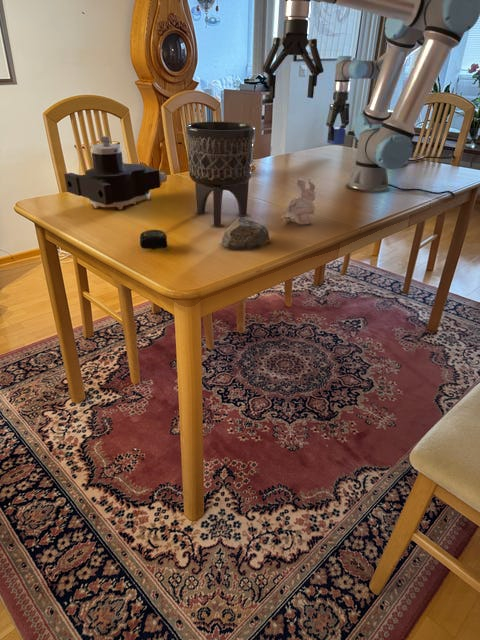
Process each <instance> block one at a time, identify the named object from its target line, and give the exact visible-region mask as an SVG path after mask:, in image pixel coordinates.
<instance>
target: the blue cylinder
mask: <svg viewBox="0 0 480 640" xmlns="http://www.w3.org/2000/svg"><path fill="white" fill-rule="evenodd" d="M333 127H334V135H333V141H331V140H328V138H327V141H326V143H327V144H328V145H329V144H330V145H344V144H345V143H346V132H347V127H346V128H342V127H338V126H333ZM328 130H329V128H328ZM328 130H327V131H328ZM328 134H329V133H328V132H327V135H328Z"/></svg>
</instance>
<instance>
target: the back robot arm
mask: <svg viewBox="0 0 480 640" xmlns="http://www.w3.org/2000/svg"><path fill="white" fill-rule="evenodd" d="M423 32H424V31H421V30H418V29H415V28H412V27H409V26H405V25H404V22H403V21H400V20H396V19H392V18H388V17H386V20H385V24H384V34H385V37H386V43H387V48H386V52H385V53H383V54H382V55H381V56H380V57H378V58H377V59H376V60H361V59H356V60H353V59H354V58H353V56H352V55H339V56H337V58H336V63H335V73H334V86H333V91H334V92H333V94H332V100H333V103H330V104H329V109H328V114H327V117H326V118H327V119H326V123H325V125H326V127H328V129H329V130H327V139H328V140H331V141H333V135H334V127H335V126H334V125H335V122H336V121H337V118H338V116H340V123H341V125H340V127H342V128H346V129H347V126H348V125H349V124H350V105H351V104H350V103H349V102H348V103H347V101H348V100H349V96H350V95H349V94H350V93H349V91H350V86H351V85H350V84H351V79H353V80H359V79H363V80H364V79H365V80H367V79H372V80H376V82H375V85H374V88H373V91H372V94H371V97H370V101H369V103H368V104H367V105H366V106H364V108H363V111H362V113H359V114H357V115H356V116H355V117H354V120H353V134H354V136H355V138H356V139H357V141H359V134H360V131H361V127H362V126H363V125H382V123H383V121H385V120H387V119H389V118H390V117H391V114H392V112H393V110H390V109H389V107H390V105H391V101H392V100H393V97H394V93H395V91H396V88H397V85H398V83H399V80H400V78H401V75H402V72H403V69H404V67H405V63H406V61H407V58H408V57H410V56H411V55H412V54H413V53H415V52H416V51H418V50H419V49H421V48H422V46H423V44H424V41H425V38H424V34H423ZM328 133H329V134H328ZM449 158H453V159H455V158H456V156H455V155H454V154H449V155H448V156H433V155H426V156H421V157H420V158H413V159H409V160H408V161H407V162H406V163H405V164H404V165H403V166H402V167H404V166H406V165H407V163H408V162H417V161H422V160H423V159H439V160H447V159H449Z"/></svg>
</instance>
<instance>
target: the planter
mask: <svg viewBox="0 0 480 640" xmlns="http://www.w3.org/2000/svg"><path fill="white" fill-rule="evenodd" d="M255 132H256V127H255V126H254V125H253V124H251V123H244V122H236V121H197V122H191V123H187V124H186V125H185V137H186V139H185V141H186V151H187V164H188V176H189V177H190V180H191V181H192V182H194V183H195V185H194V186H195V200H196V213H197V214H201V215H202V214H205V213H206V205H207V201H208V198H209V196H210V195H211V194H212V200H213V201H212V203H213V205H212V206H213V227H221V225H222V205H223V194H224V191H227V192H230V193H231V194H233V196H234V198H235V200H236V202H237V203H236V204H237V206H238V215H240V216H243V217H244V216H247V215H248V214H247V213H248V202H249V201H248V199H249V185H250V180H251V177H252V173H253V172H252V160H254V159H253V158H254V145H255V134H256V133H255Z"/></svg>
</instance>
